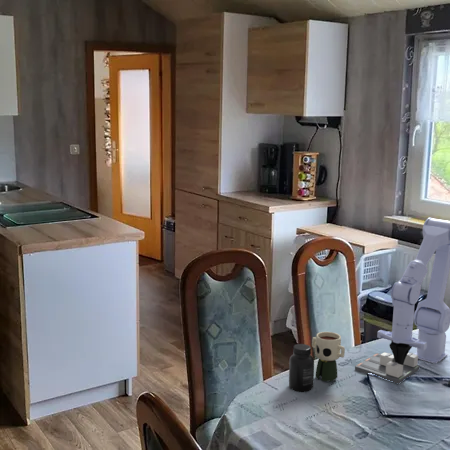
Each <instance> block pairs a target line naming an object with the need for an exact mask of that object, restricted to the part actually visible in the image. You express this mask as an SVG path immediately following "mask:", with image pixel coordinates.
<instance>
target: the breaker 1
mask: <svg viewBox="0 0 450 450" xmlns="http://www.w3.org/2000/svg"><path fill="white" fill-rule="evenodd" d="M385 374H388V375H391V376H394V377H397V378H399V377H400V376H402V374H403V365H401V364H398V363H396V362H395V363H394V362H391V361H390V362H388V363H387V364H386V373H385Z"/></svg>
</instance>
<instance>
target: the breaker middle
mask: <svg viewBox="0 0 450 450" xmlns="http://www.w3.org/2000/svg"><path fill="white" fill-rule="evenodd" d="M380 354H381V355H380V364H381V365H384V366H386V364H387V363H388V362H390V361H391V362H394V363H395V359H394V355H393V353H390V352H389V353H388V352H385V351H383V352H382V353H380Z"/></svg>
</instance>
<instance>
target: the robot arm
mask: <svg viewBox="0 0 450 450" xmlns="http://www.w3.org/2000/svg"><path fill="white" fill-rule="evenodd" d="M422 238H423V239H422V241H421V243H420V246H419V249H418V251H417V254H416V257H415V259H414V260H411V261H408V262H409V263H408V264H407V266H406V268H405V270H404V272H403V273H402V276H401V277H400V279H399V280H398V281H397V282H394V284H393V285H392V287H391V291H390V299H391V301H392V302H391V305H392V306H393V314H392V326H391V327H392V328H391V331H386V330H382V329H380V330H378V331H377V335H376V336H377V337H376V338H377V339H385V340H388V341H390V343H389V348H390V350H391V352H392V353H391V354H392V355H394V359H395V362H396V363H398V364H401V365H403V364H404V361H405V358H406V356H407V354H408V353H410V350H411V349H412V348H416V352H414V353H413V354H415V355H418V360H422V361H425V362H428V363H432V364H438V363H439V362H440V361H441V360H443V359H445V357H446V358H447V356H448V353H447V352H446V342H447V341H446V340H447V334H446V332H447V331H448V330H449V328H450V307H449V306H448V305H447V304H446V303H445V301H444V299H445V295H446V289H447V283H448V279H449V274H450V220H445V219H438V218H433V217H427V218H426V220H425V221H424V222H423V226H422ZM433 256H434V259H433V264H432V270H431V274H430V280H429V286H428V289H427V290H428V291H427V295H426V297H425V299H422V300H421V301H419V302H418V300H419V298H420V292H421V289H422V286H421V285H422V284H423V281H424V280H425V277H426V276H427V273H428V271H429V270H428V267H427V265H428V264H429V261H430V260H431V258H432V257H433ZM417 302H418V303H417ZM416 303H417V306H416V310H415V304H416ZM414 325H415V326H416V329H417V330H418V334H417V335H418V336H417V338H416V337H414V336H413V331H414V330H413V328H414Z"/></svg>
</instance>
